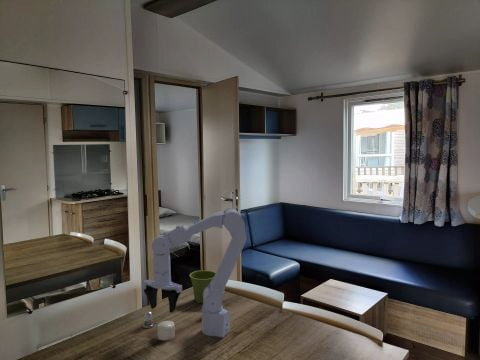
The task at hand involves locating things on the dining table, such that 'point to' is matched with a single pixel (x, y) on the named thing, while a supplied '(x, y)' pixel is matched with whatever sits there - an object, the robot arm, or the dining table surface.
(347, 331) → the dining table surface
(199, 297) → the plant pot
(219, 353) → the dining table surface
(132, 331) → the post board
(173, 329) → the cap
